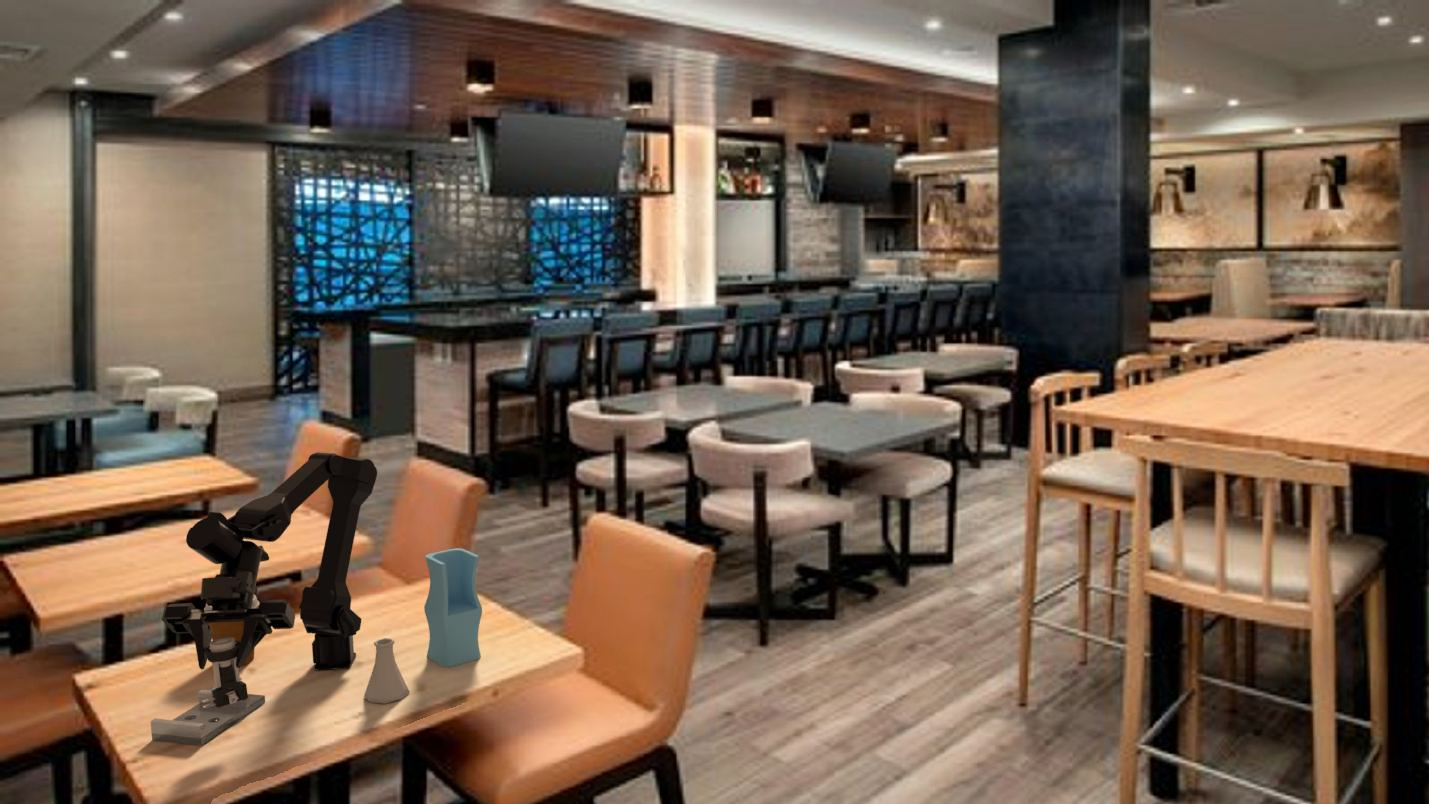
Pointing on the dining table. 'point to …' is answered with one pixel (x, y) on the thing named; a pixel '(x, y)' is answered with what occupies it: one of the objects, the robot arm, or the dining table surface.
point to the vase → (453, 607)
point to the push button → (225, 673)
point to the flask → (385, 675)
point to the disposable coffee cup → (231, 629)
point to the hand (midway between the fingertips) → (219, 667)
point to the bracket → (203, 720)
